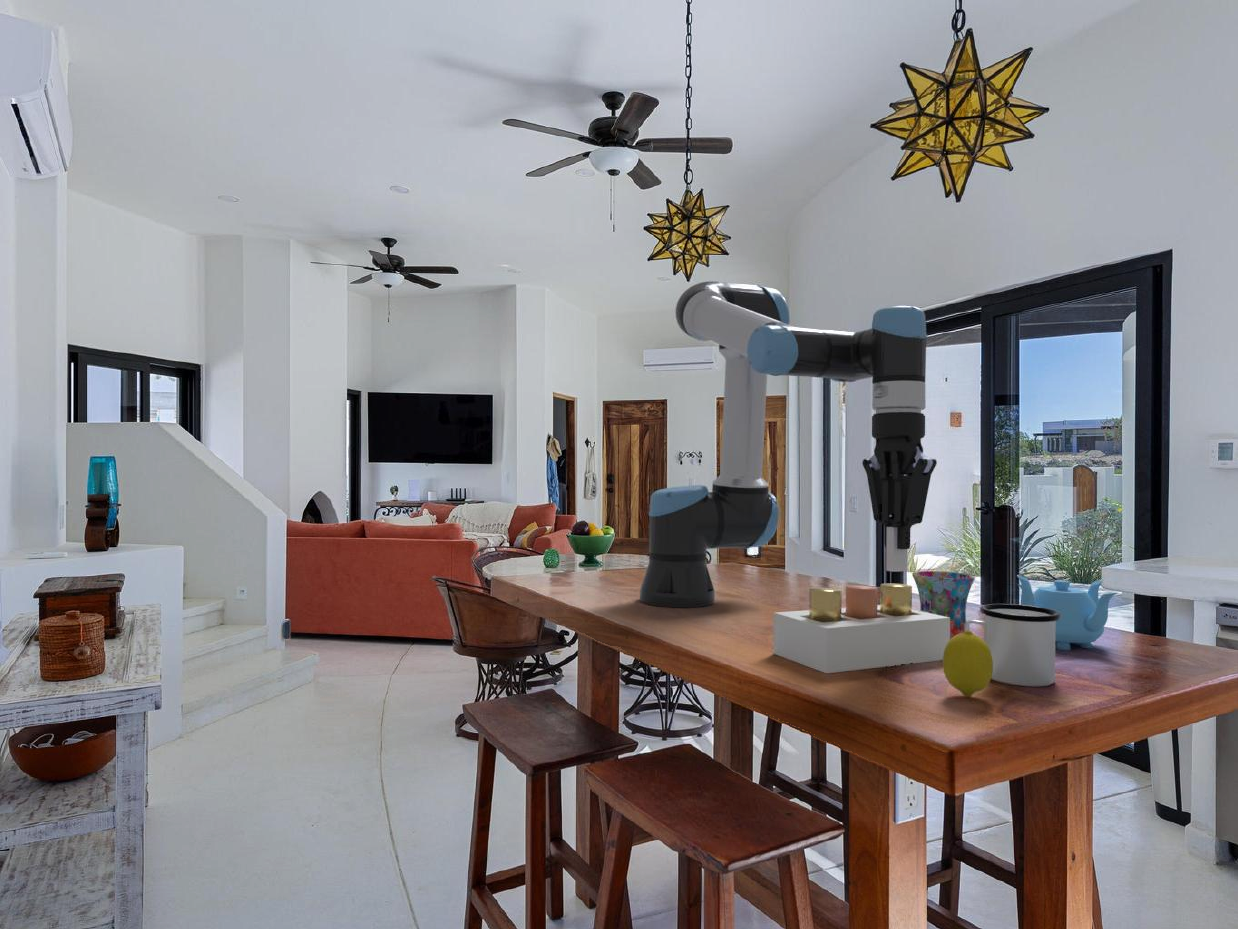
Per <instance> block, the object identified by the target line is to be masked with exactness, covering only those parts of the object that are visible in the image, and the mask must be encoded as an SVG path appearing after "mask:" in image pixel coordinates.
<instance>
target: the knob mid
mask: <svg viewBox="0 0 1238 929" xmlns="http://www.w3.org/2000/svg"><path fill="white" fill-rule="evenodd" d="M878 596H879V595H878V587H875V586H870V585H846V586H845V607H846V616H848V617H852V618H855V619H859V620H860V619H872V618H877V605H878Z"/></svg>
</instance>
